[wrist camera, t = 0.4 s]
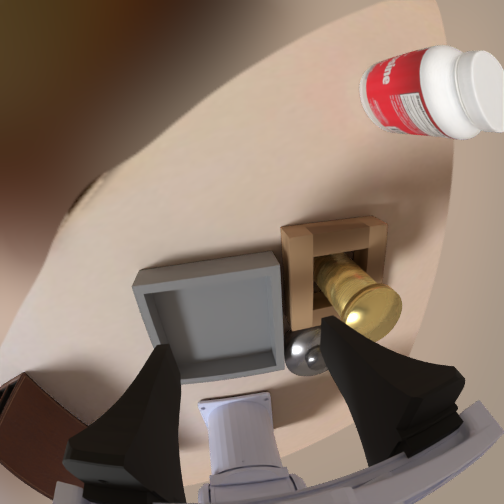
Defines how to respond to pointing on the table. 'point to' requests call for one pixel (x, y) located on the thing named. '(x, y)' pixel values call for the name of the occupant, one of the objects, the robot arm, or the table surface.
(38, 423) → the letter holder
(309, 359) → the pulley
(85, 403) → the table surface
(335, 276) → the lock pin
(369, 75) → the pill bottle
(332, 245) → the block
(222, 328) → the tray
